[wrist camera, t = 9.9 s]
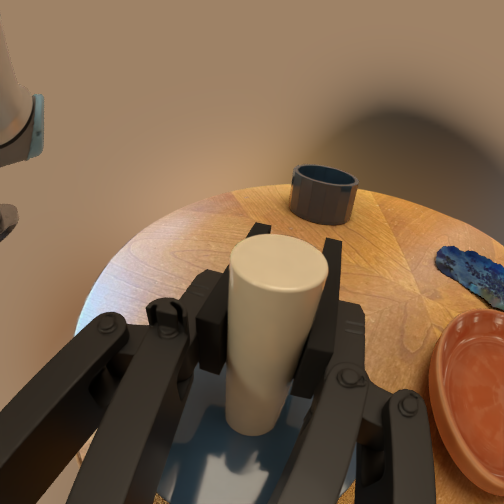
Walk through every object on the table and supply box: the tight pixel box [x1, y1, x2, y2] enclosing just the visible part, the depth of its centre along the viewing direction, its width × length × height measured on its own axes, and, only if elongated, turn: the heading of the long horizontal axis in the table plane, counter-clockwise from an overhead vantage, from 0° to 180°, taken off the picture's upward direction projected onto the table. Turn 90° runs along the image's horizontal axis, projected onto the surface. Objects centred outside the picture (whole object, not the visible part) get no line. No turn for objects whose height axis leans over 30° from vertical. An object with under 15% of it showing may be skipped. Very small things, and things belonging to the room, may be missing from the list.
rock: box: [436, 246, 504, 310], centre depth 37 cm, size 15×17×2 cm
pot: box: [289, 164, 359, 225], centre depth 50 cm, size 11×11×7 cm
